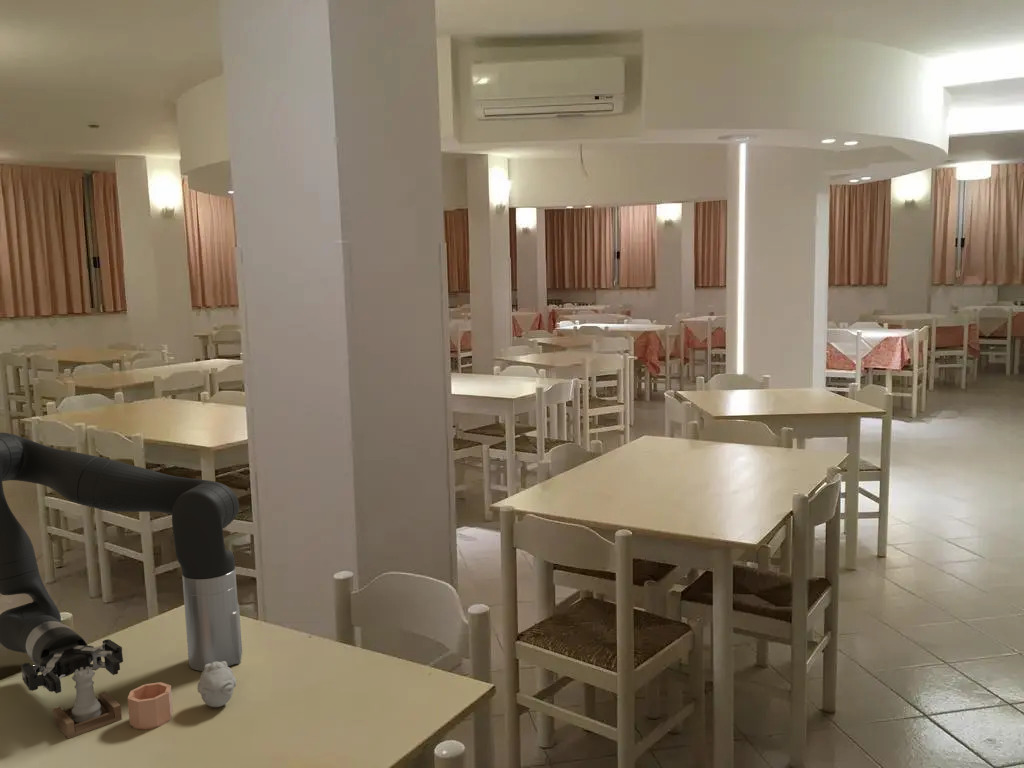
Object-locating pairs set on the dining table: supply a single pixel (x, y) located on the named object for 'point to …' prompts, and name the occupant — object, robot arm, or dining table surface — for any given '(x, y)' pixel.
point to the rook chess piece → (85, 696)
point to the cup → (150, 705)
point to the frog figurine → (216, 684)
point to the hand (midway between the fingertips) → (87, 677)
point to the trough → (108, 715)
